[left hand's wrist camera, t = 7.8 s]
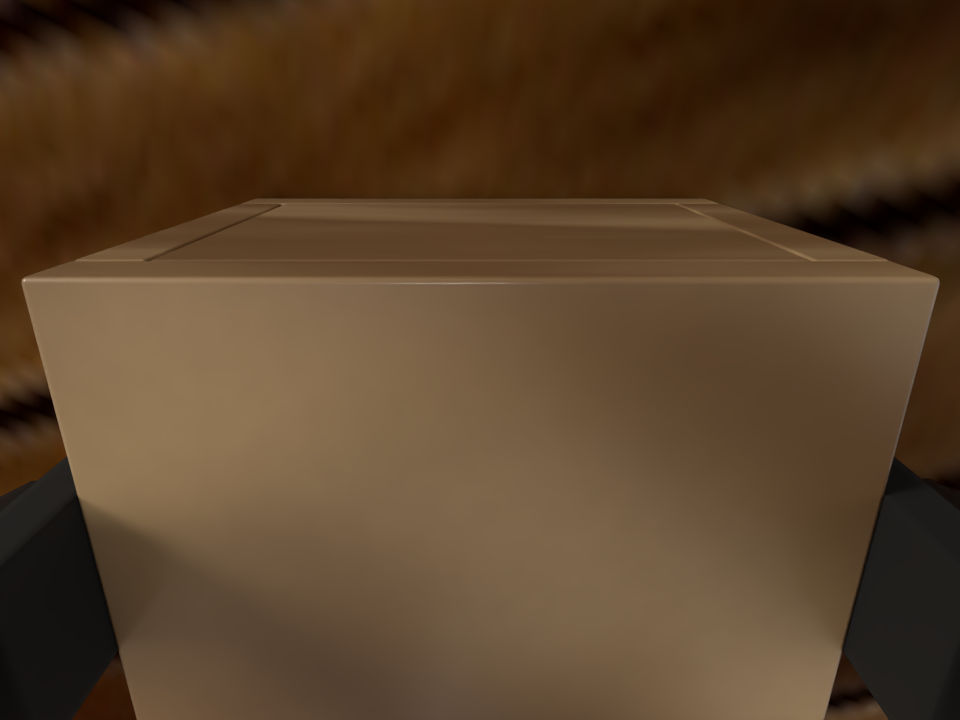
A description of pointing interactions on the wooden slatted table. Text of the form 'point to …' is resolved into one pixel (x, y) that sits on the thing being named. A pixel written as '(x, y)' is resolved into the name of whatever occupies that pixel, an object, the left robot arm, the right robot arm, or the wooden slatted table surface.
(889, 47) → the wooden slatted table surface
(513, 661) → the cabinet
